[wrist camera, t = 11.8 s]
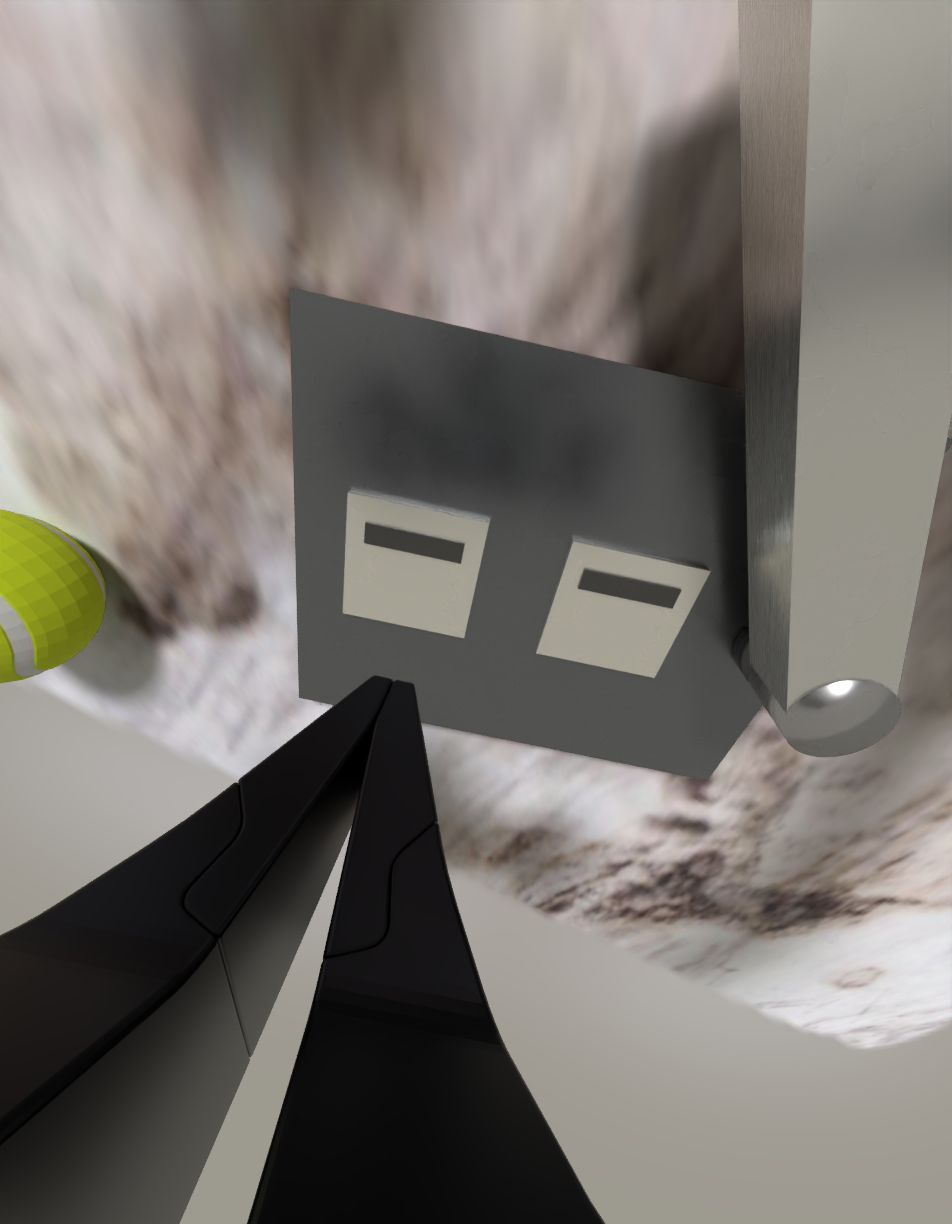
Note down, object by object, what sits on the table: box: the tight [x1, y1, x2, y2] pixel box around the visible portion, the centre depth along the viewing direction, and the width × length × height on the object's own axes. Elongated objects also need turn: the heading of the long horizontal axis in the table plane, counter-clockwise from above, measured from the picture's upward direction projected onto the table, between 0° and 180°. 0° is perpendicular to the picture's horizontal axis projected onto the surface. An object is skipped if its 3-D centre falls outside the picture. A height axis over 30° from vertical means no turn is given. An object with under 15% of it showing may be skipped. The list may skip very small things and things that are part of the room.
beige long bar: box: [738, 0, 952, 757], centre depth 11 cm, size 21×3×3 cm, turn 18°
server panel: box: [289, 288, 952, 780], centre depth 17 cm, size 21×16×2 cm
